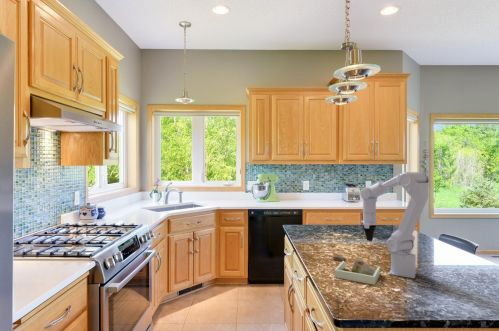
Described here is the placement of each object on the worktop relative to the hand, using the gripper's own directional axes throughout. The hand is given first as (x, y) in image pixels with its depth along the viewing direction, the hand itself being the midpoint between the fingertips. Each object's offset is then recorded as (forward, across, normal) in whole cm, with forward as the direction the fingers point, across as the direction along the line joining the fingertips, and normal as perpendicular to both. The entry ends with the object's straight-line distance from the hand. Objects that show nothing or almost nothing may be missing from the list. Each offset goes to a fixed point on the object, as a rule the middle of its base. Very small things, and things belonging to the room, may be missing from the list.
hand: (369, 240), depth 141 cm
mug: (+10, +20, +1) cm, 22 cm away
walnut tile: (+10, +4, -14) cm, 18 cm away
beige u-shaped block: (+10, +22, -1) cm, 24 cm away
